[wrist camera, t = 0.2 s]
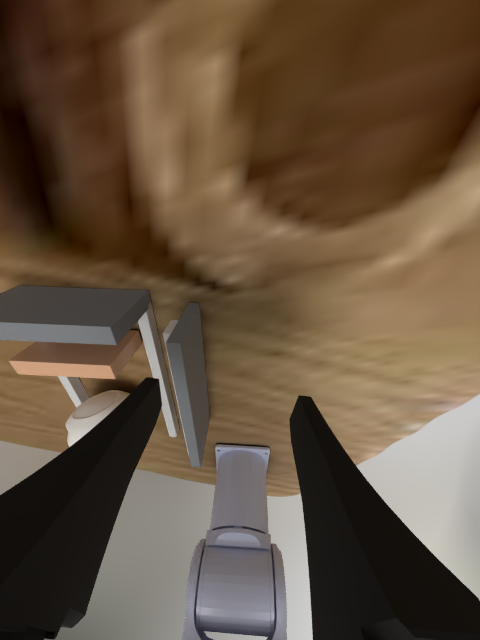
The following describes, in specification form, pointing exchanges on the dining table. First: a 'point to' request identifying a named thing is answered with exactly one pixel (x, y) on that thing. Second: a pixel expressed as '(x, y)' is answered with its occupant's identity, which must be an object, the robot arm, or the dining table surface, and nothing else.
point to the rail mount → (108, 329)
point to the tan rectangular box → (77, 358)
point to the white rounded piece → (92, 413)
